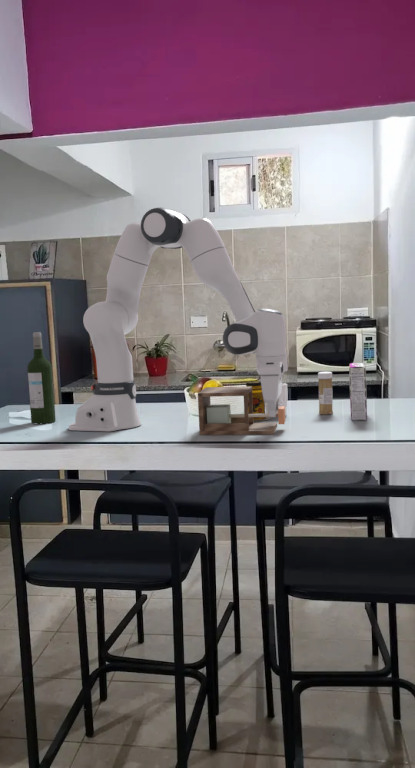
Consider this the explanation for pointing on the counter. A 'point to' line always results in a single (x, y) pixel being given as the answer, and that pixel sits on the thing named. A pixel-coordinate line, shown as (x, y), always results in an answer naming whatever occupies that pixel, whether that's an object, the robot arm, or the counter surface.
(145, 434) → the counter surface
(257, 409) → the condiment
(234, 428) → the shelf
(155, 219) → the robot arm
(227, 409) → the mallet
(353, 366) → the candy bar box
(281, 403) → the white cup
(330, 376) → the sprinkles bottle
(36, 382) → the wine bottle
